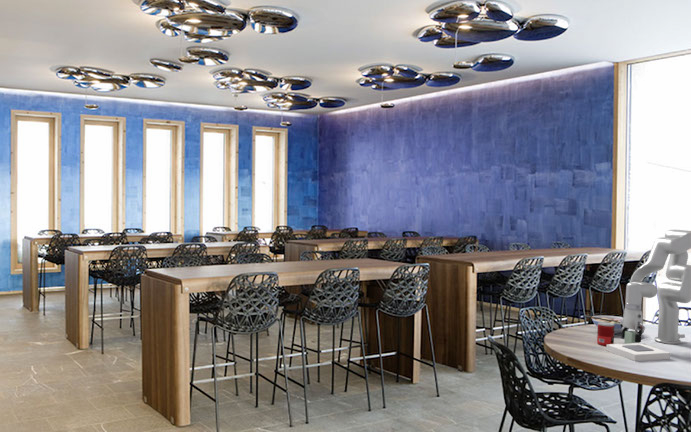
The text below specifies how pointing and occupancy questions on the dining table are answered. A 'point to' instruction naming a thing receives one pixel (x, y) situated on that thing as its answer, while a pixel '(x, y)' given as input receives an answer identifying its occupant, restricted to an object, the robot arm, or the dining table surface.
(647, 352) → the base board
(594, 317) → the ramen bowl
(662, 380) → the dining table surface
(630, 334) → the green block
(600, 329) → the canned food
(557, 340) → the dining table surface
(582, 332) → the dining table surface
